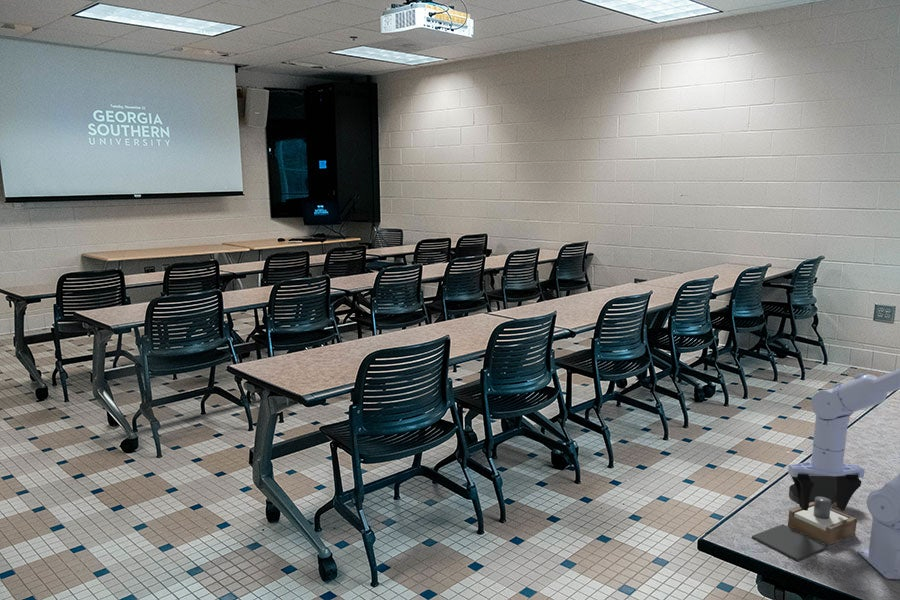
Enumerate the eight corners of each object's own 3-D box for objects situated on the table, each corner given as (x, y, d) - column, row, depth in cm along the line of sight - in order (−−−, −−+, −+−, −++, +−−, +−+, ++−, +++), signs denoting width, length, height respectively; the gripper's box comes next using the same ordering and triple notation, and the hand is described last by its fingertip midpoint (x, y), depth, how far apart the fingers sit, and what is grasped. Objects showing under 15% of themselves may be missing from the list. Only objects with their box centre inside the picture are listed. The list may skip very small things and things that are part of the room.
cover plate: (816, 508, 147) (818, 489, 146) (848, 521, 141) (850, 502, 141) (794, 516, 143) (796, 497, 142) (825, 530, 137) (827, 510, 137)
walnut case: (813, 515, 149) (815, 500, 148) (855, 534, 141) (856, 518, 141) (787, 525, 144) (789, 510, 144) (829, 545, 137) (830, 528, 136)
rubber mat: (782, 525, 144) (782, 524, 144) (828, 547, 136) (828, 545, 136) (751, 537, 140) (751, 535, 139) (797, 560, 131) (797, 559, 131)
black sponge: (825, 471, 161) (825, 458, 160) (862, 485, 155) (862, 471, 153) (785, 503, 154) (784, 489, 152) (822, 519, 147) (822, 504, 145)
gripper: (853, 439, 143) (846, 499, 146) (783, 438, 144) (777, 499, 146) (873, 452, 137) (865, 515, 139) (800, 451, 137) (794, 515, 139)
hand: (821, 508), depth 142 cm, fingers open, 7 cm apart
